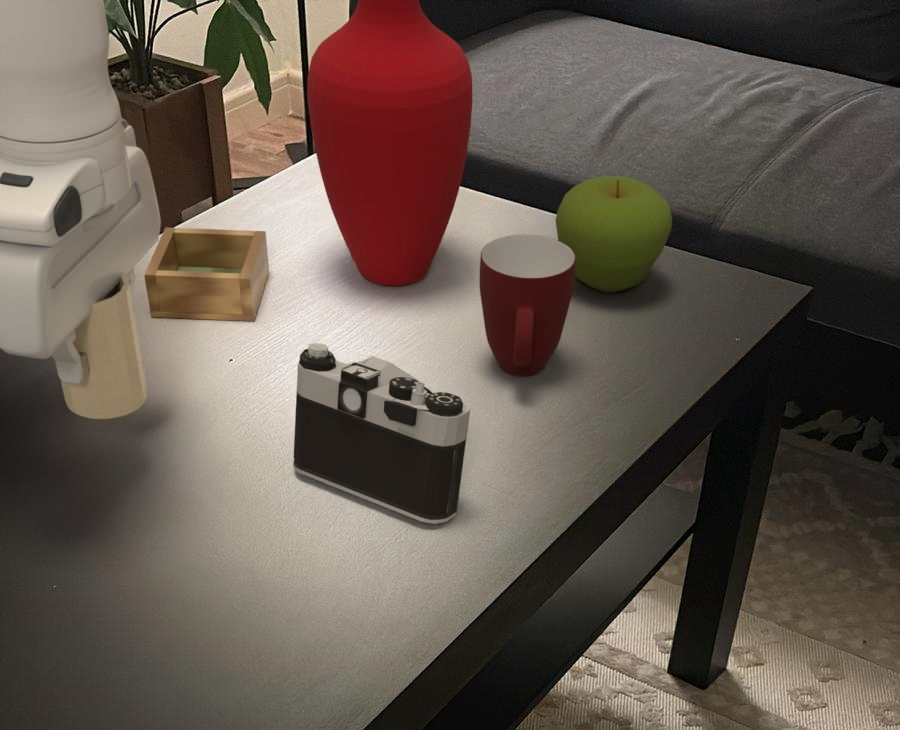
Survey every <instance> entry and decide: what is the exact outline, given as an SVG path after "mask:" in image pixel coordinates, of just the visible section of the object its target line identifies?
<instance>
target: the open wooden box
mask: <svg viewBox="0 0 900 730" xmlns="http://www.w3.org/2000/svg"><path fill="white" fill-rule="evenodd" d="M269 266H270V265H269V254H268V244H267V233H266V230H243V229H242V230H241V229H217V228H192V227H191V228H189V227H164V229H163V232H162V234H161V236H160V237H159V240H158V242H157V245H156V247H155V250H154V252H153V254H152V256H151V258H150V261H149V262H148V266H147V267H146V270H145V272H144V274H143V277H144V282H145V283H144V284H145V288H146V293H147V295H146V296H147V300H148V305H149V313H150V318H164V319H165V318H169V319H191V320H194V319H195V320H214V321H215V320H216V321H217V320H218V321H241V322H242V321H243V322H255V319H256V317H257V313H258V311H259V307H260V303H261V300H262V297H263V294H264V291H265V288H266V285H267V284H266V283H267V281H268V277H269V275H270V267H269Z"/></svg>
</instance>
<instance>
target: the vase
mask: <svg viewBox="0 0 900 730" xmlns="http://www.w3.org/2000/svg"><path fill="white" fill-rule="evenodd" d="M419 1H420V0H358V1H357V5H356V7H355V10H354V12H353V14H352V15H351V17H350V18H349V19H348V21H346V22H345V23H344V24H343V25H342V26H341V27H340V28H339V29H337V30H335V31H334V32H333V33H332V34H330V35H329V36H328V37H326V38H325V39H324V40H322V41H321V43H320V44H319V45H318V46H317V48H316V49H315V51H314V53H313V54H312V56H311V59H310V63H309V68H308V74H307V82H306V83H307V104H308V105H307V106H308V113H309V115H308V116H309V121H310V129H311V134H312V139H313V145H314V150H315V155H316V160H317V164H318V167H319V172H320V175H321V179H322V180H321V181H322V183H323V187H324V190H325V193H326V197H327V200H328V203H329V206H330V208H331V211H332V214H333V216H334V219H335V222H336V225H337V227H338V229H339V231H340V234H341V236H342V238H343V241H344V242H345V243H344V244H345V246H346V247H347V249H348V252H349V254H350V256H351V258H352V260H353V262H354V265H355V267H356V269H357V271H358V272H359V274H360V275H361V276H362V277H363V278H364V279H366V280H367V281H369V282H371V283H373V284H377V285H380V286H381V285H382V286H387V287H396V286H397V287H398V286H399V287H400V286H406V285H410V284H414V283H416V282H419V281H420V280H421V279H423V278H424V277H425V276H426V275H427V274H428V272H429V270H430V268H431V266H432V264H433V262H434V259H435V257H436V254H437V252H438V250H439V247H440V245H441V243H442V240H443V237H444V235H445V233H446V231H447V227H448V225H449V223H450V219H451V217H452V214H453V212H454V208H455V204H456V201H457V199H458V195H459V191H460V187H461V183H462V178H463V175H464V169H465V166H466V165H465V164H466V159H467V156H468V155H467V154H468V147H469V141H470V133H471V126H472V112H473V74H472V70H471V66H470V61H469V58H468V57H467V55H466V54H465V51H463V49H462V47H461V45H460V44H459V43H458V42H457V41H456V40H454V39H453V38H452V37H450V36H449V35H448V34H446V33H445V32H444V31H443V30H441V29H439V28H438V27H437V26H436V25H435V24H433V23H432V21H430V20H429V18H428V17H427V15H426V14H425V13H424V11H423V9H422V6H421V4H420V2H419Z"/></svg>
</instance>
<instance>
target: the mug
mask: <svg viewBox="0 0 900 730" xmlns="http://www.w3.org/2000/svg"><path fill="white" fill-rule="evenodd" d="M479 257H480V258H479V277H478V280H479V284H478V285H479V294H480V302H481V308H482V316H483V317H482V318H483V323H484V330H485V336H486V341H487V344H488V346H489V349H490V351H491V353H492V355H493V357H494V358H495V360H496V362H497V364H498V366H499V367H500V369H501V370H502V371H503V372H505V373H507V374H508V375H512V376H514V377H515V376H517V377H531V376H533V375H536V374H538V373H540V372H541V371H542V370H543V369H544V368H545V366H546V365H547V363H548V362H549V360H550V359H551V357H552V356H553V354H554V353H555V351H556V349H557V348H558V346H559V343H560V342H561V341H560V340H561V337H562V334H563V330H564V328H565V327H564V326H565V323H566V319H567V315H568V311H569V308H570V304H571V300H572V297H573V293H574V288H575V285H574V284H575V277H576V276H575V264H576V257H575V254H574V252H573V251H572V249H571V248H570V247H568V246H567V245H566V244H564V243H562V242H560V241H558V239H556V238H555V239H554V238H552V237H548V236H544V235H537V234H513V235H512V234H511V235H507V236H502V237H498V238H496V239H494V240H492V241H490V242H488V243H487V244H485V245H484V246H483V248H482V249H481V251H480V256H479Z"/></svg>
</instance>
